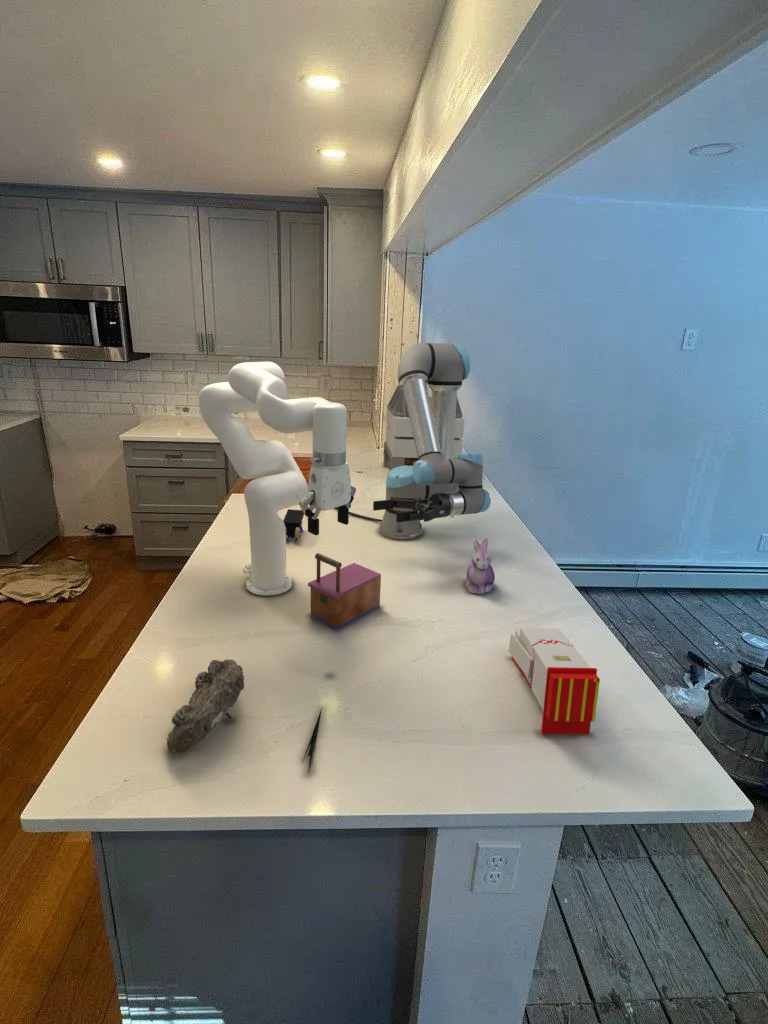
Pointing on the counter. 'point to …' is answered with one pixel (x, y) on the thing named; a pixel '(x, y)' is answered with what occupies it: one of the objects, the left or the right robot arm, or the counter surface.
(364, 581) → the lid
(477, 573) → the figurine
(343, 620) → the chest
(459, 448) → the transformer
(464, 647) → the counter surface
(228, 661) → the fossil
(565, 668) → the toy
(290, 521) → the figurine character
